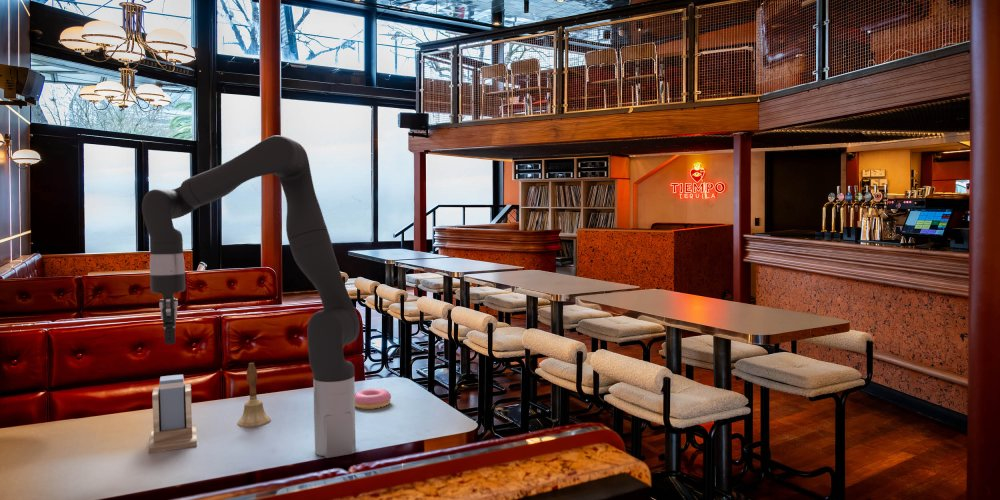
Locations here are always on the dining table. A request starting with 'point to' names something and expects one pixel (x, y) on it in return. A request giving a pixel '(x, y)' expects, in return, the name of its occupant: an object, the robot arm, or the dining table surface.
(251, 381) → the hand bell
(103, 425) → the dining table surface
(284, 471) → the dining table surface
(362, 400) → the doughnut
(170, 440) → the tan frame
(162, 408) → the block
